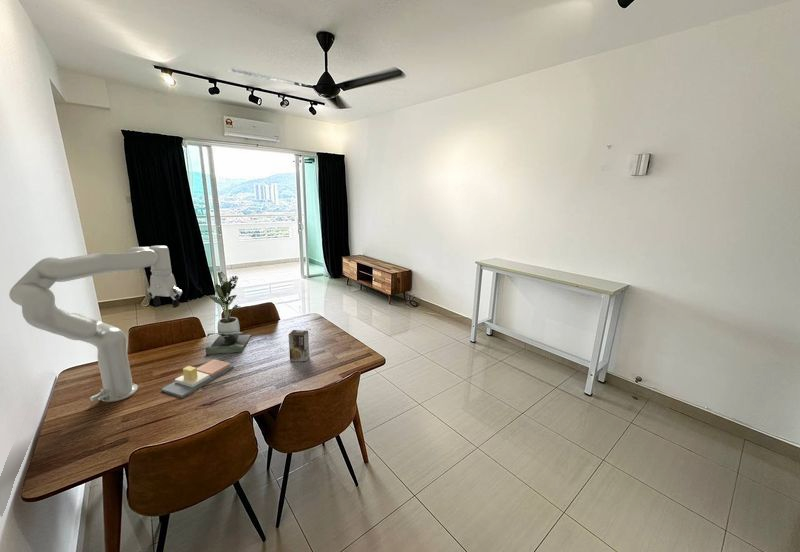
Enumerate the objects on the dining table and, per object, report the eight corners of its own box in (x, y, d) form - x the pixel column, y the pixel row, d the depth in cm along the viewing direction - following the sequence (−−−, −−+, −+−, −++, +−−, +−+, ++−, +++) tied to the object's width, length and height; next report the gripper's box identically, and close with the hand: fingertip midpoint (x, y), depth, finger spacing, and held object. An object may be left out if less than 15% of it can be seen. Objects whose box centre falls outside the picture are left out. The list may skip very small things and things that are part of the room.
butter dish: (192, 387, 144) (190, 374, 143) (175, 382, 148) (173, 369, 146) (209, 377, 153) (208, 365, 151) (193, 372, 156) (191, 360, 154)
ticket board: (182, 397, 139) (181, 392, 138) (161, 391, 143) (160, 385, 142) (233, 367, 165) (233, 362, 164) (214, 362, 169) (214, 357, 168)
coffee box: (309, 357, 179) (308, 330, 175) (305, 362, 173) (304, 335, 169) (294, 355, 180) (293, 329, 176) (289, 361, 174) (288, 334, 170)
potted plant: (242, 352, 181) (236, 276, 170) (206, 354, 177) (197, 277, 166) (251, 336, 202) (246, 268, 191) (218, 337, 198) (211, 268, 187)
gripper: (137, 272, 146) (143, 307, 150) (172, 274, 144) (177, 310, 148) (151, 269, 153) (156, 302, 157) (185, 271, 151) (189, 304, 156)
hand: (166, 306), depth 153 cm, fingers open, 9 cm apart
